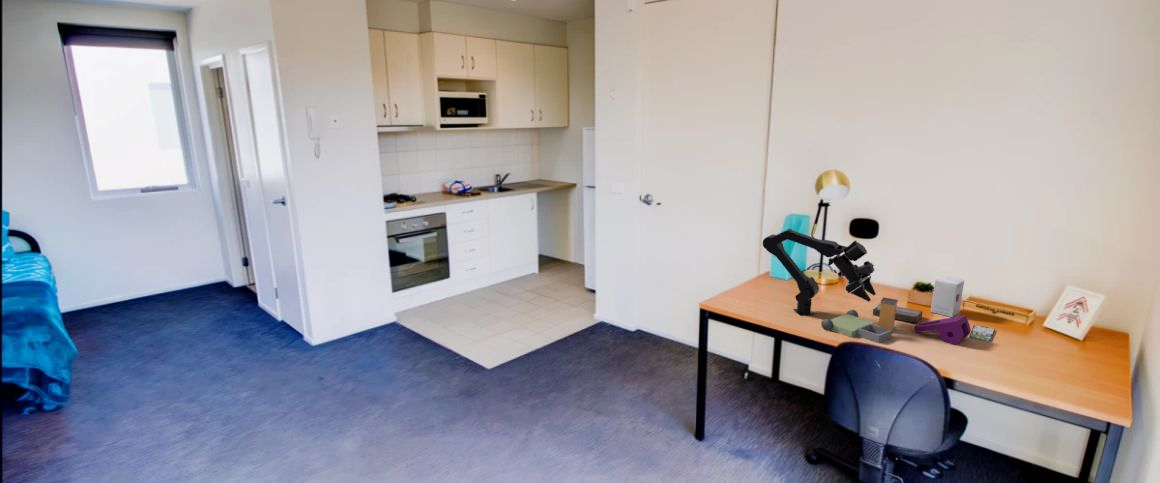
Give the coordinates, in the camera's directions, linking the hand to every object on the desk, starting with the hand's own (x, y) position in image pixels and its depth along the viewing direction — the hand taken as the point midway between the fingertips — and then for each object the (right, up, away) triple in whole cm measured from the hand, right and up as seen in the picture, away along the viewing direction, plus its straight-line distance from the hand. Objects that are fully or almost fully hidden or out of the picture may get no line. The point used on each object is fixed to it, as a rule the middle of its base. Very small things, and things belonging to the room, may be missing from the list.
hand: (872, 297), depth 250 cm
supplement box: (+40, -8, +17) cm, 44 cm away
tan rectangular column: (+5, -13, -1) cm, 14 cm away
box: (+17, -10, +14) cm, 24 cm away
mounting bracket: (+23, -15, -7) cm, 28 cm away
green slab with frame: (-7, -13, -2) cm, 15 cm away
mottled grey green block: (+41, -15, -6) cm, 44 cm away
